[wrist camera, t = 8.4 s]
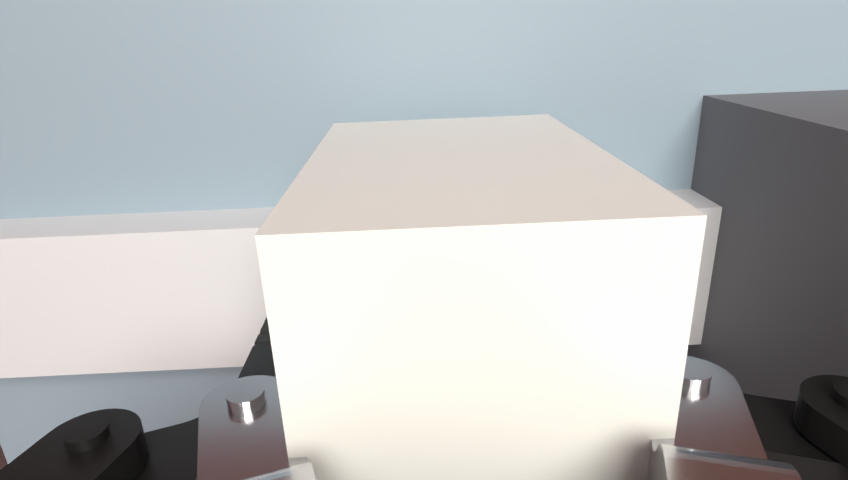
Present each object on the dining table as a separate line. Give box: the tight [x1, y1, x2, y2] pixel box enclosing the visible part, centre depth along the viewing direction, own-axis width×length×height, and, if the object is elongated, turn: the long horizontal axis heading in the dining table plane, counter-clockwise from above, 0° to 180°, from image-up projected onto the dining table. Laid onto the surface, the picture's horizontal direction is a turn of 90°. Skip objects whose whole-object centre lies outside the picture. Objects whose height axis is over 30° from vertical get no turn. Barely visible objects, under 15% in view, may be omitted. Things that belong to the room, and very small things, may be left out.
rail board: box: [0, 0, 848, 464], centre depth 12 cm, size 14×24×9 cm, turn 92°
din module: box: [255, 114, 707, 480], centre depth 10 cm, size 8×4×7 cm, turn 2°
